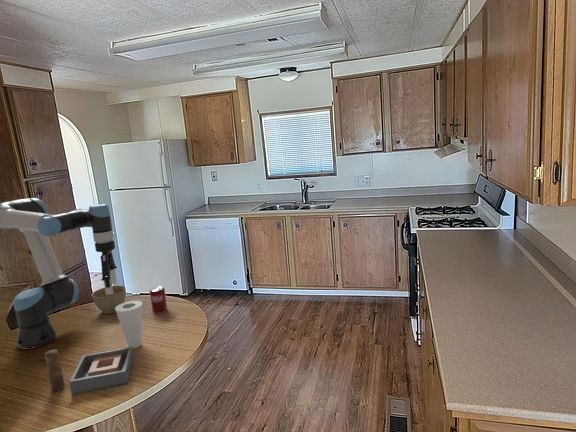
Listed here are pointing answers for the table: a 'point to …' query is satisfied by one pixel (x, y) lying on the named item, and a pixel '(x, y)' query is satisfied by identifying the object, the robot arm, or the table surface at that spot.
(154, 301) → the soda can
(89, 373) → the box
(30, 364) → the table surface
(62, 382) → the peg
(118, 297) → the planter bowl
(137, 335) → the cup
